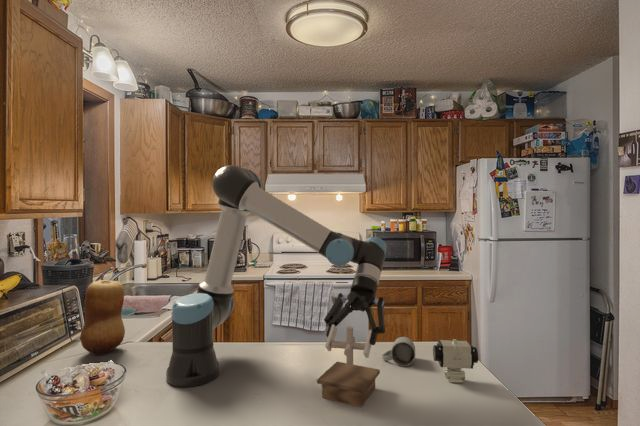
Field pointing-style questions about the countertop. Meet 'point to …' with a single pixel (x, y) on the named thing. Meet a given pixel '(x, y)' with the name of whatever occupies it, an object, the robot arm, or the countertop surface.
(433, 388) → the countertop surface
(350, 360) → the pipe connector
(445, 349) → the pneumatic valve
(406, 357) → the ceramic mug
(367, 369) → the walnut stand
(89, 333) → the butternut squash
